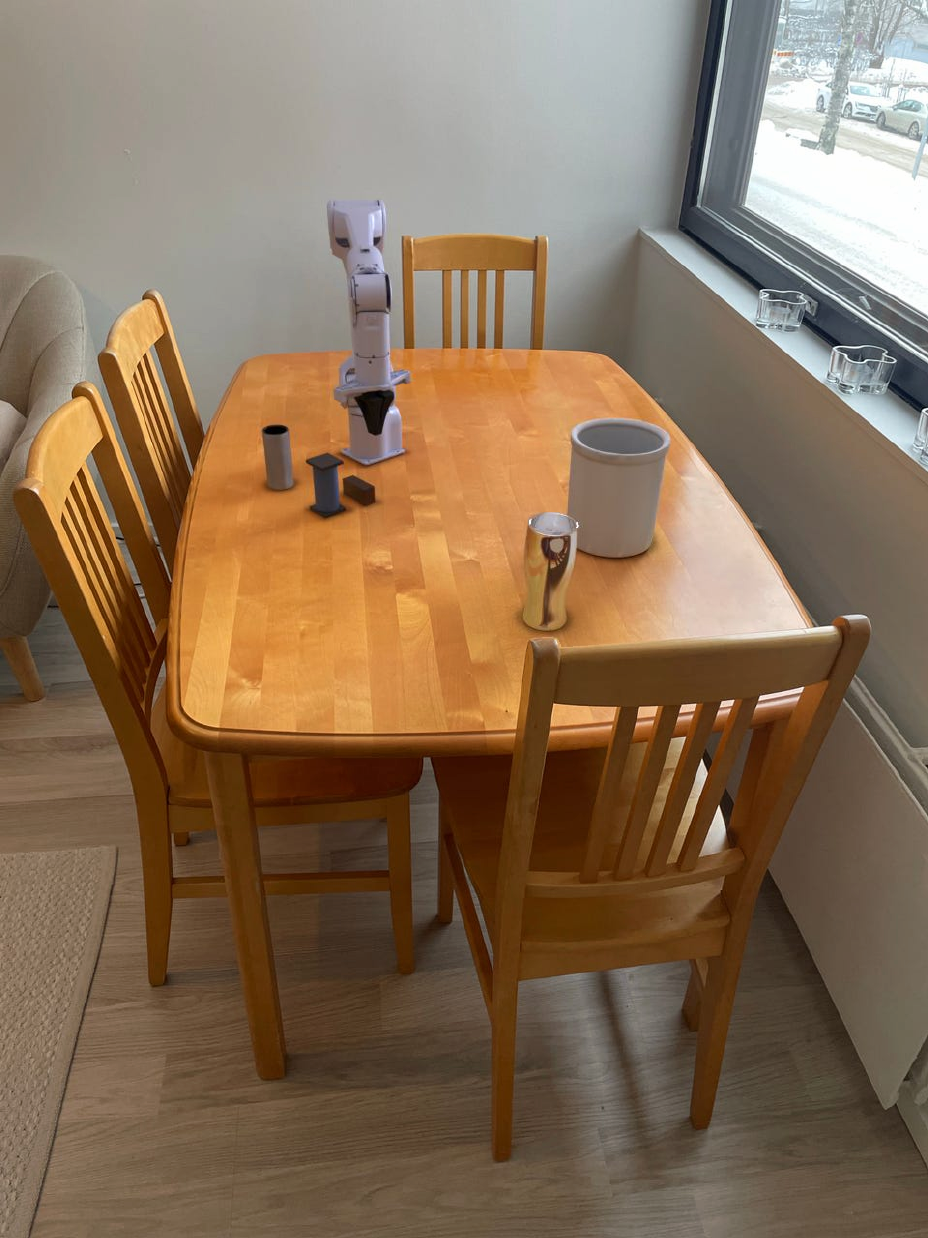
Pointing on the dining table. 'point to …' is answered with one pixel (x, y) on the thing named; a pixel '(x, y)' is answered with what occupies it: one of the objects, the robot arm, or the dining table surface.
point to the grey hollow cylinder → (278, 457)
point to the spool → (326, 485)
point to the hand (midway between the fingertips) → (374, 433)
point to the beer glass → (549, 568)
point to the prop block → (359, 490)
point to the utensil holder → (616, 484)
